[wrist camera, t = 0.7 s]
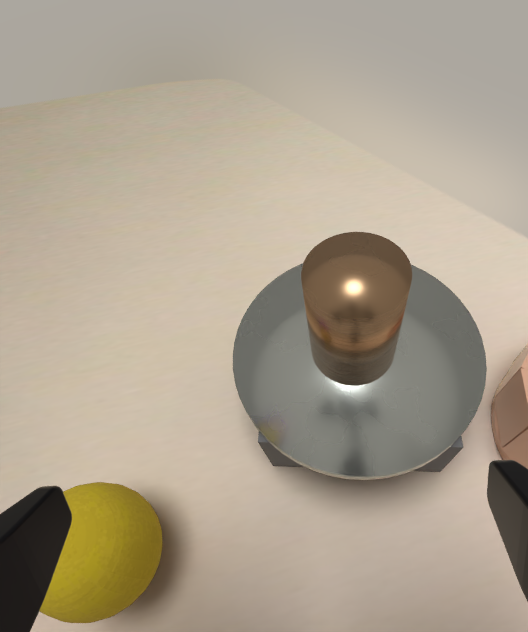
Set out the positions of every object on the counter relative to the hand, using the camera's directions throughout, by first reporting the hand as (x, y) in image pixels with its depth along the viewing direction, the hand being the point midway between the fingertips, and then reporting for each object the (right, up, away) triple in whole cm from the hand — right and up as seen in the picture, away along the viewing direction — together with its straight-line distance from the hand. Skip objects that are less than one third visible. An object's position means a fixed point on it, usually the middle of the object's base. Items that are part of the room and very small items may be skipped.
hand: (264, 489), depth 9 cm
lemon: (-7, -9, +14) cm, 18 cm away
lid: (+4, +2, +12) cm, 13 cm away
